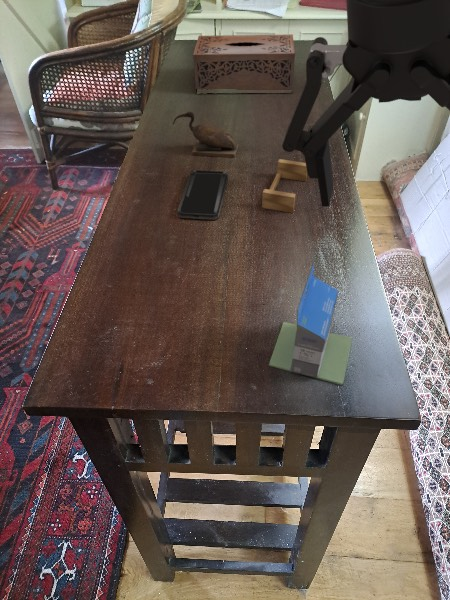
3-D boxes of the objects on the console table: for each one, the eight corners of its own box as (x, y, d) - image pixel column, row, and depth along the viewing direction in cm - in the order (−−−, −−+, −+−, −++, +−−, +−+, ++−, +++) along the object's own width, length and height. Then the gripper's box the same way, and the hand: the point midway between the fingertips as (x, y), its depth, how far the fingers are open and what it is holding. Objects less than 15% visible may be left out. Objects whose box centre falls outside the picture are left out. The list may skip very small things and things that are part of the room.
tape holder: (307, 178, 94) (308, 163, 91) (292, 213, 86) (294, 197, 83) (278, 174, 95) (279, 158, 93) (262, 207, 87) (262, 192, 85)
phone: (228, 171, 94) (217, 215, 84) (228, 176, 95) (218, 220, 85) (190, 170, 95) (175, 212, 85) (191, 174, 96) (176, 217, 86)
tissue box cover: (196, 94, 124) (193, 54, 116) (201, 73, 133) (198, 35, 126) (292, 93, 122) (295, 53, 115) (289, 72, 132) (292, 34, 125)
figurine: (173, 154, 102) (168, 116, 96) (178, 144, 105) (174, 106, 99) (235, 157, 100) (234, 119, 94) (238, 147, 103) (238, 109, 97)
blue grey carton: (318, 380, 60) (330, 318, 51) (288, 372, 61) (296, 310, 52) (330, 330, 66) (344, 267, 57) (304, 324, 67) (313, 260, 58)
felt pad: (351, 339, 65) (352, 337, 65) (342, 385, 60) (343, 383, 60) (283, 323, 67) (283, 321, 67) (268, 366, 62) (268, 364, 62)
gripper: (207, 20, 32) (268, 221, 49) (674, -42, 22) (544, 235, 39) (237, -37, 35) (284, 170, 52) (653, -112, 25) (542, 171, 43)
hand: (396, 198), depth 46 cm, fingers open, 13 cm apart
